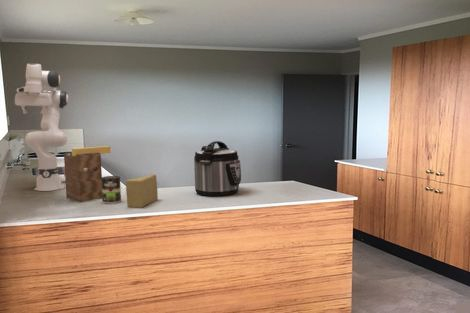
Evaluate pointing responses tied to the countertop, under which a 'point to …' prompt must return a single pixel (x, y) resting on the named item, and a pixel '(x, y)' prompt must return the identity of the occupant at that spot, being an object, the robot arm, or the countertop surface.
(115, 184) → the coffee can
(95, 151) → the lever bar
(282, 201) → the countertop surface
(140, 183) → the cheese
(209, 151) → the pressure cooker
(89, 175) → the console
